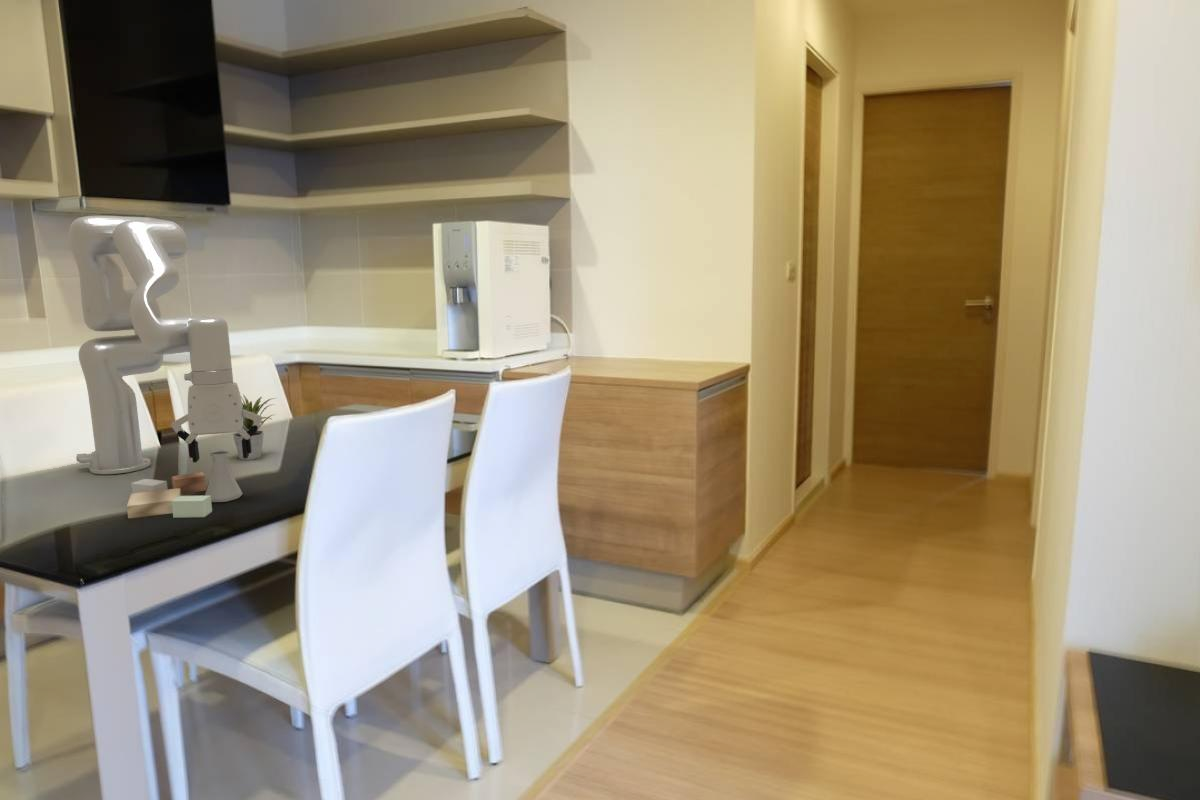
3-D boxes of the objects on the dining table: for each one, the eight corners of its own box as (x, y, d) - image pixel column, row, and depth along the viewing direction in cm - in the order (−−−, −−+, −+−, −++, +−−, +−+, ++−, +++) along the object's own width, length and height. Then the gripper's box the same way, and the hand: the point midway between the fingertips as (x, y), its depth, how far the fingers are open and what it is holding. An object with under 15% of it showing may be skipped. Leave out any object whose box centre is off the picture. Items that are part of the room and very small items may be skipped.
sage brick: (173, 518, 157) (171, 501, 157) (181, 512, 161) (180, 495, 160) (204, 517, 158) (202, 500, 157) (212, 512, 161) (210, 495, 160)
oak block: (128, 520, 157) (126, 506, 156) (132, 507, 165) (130, 493, 164) (180, 514, 161) (178, 499, 160) (181, 501, 169) (180, 487, 168)
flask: (227, 504, 165) (223, 457, 164) (196, 502, 167) (192, 455, 165) (249, 494, 172) (245, 449, 171) (219, 492, 174) (215, 447, 172)
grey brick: (133, 499, 170) (131, 483, 169) (147, 494, 173) (145, 478, 172) (154, 501, 168) (152, 485, 167) (168, 497, 171) (166, 481, 170)
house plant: (297, 453, 207) (293, 391, 204) (255, 466, 194) (249, 400, 191) (256, 448, 212) (251, 387, 209) (212, 460, 200) (206, 396, 197)
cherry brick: (175, 495, 172) (174, 480, 171) (173, 491, 175) (171, 476, 174) (206, 490, 175) (205, 475, 175) (203, 487, 178) (201, 471, 178)
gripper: (161, 383, 159) (171, 467, 162) (255, 377, 164) (263, 459, 166) (170, 378, 166) (180, 458, 169) (260, 373, 171) (267, 451, 174)
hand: (221, 459), depth 168 cm, fingers open, 9 cm apart
